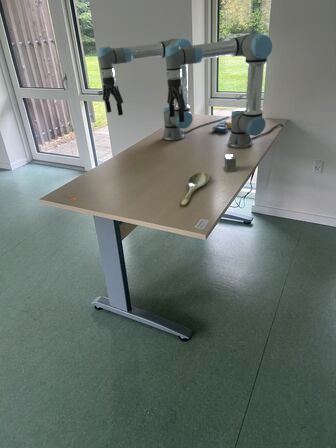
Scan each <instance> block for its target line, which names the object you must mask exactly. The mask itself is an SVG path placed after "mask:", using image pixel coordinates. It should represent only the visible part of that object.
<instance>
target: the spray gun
mask: <svg viewBox="0 0 336 448" xmlns="http://www.w3.org/2000/svg"><path fill="white" fill-rule="evenodd" d="M230 129H231V121H228V122H227V121H226V120H220V121H218V122H216V124H215V125H214V126H213V127H212V130H211V131H213V132H214V133H216V132H217V133H228V132H229V130H230Z"/></svg>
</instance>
